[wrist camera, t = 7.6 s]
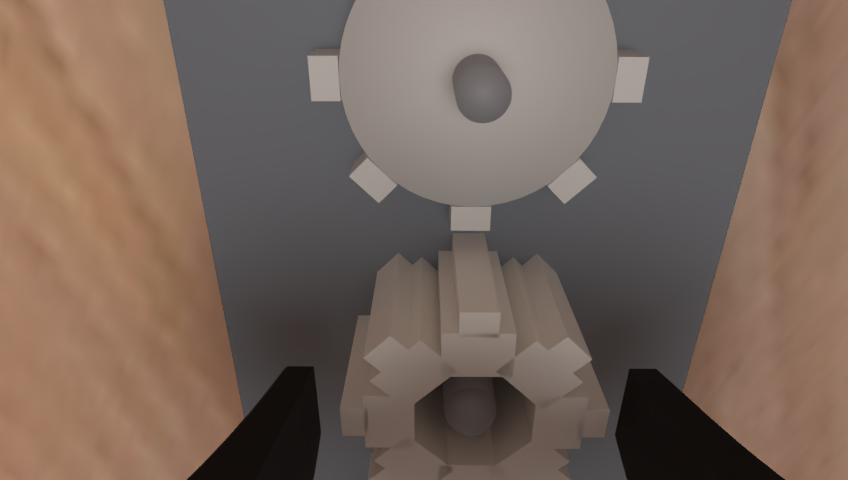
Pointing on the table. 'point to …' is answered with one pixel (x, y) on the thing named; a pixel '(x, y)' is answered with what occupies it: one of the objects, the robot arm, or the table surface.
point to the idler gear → (471, 368)
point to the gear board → (468, 171)
